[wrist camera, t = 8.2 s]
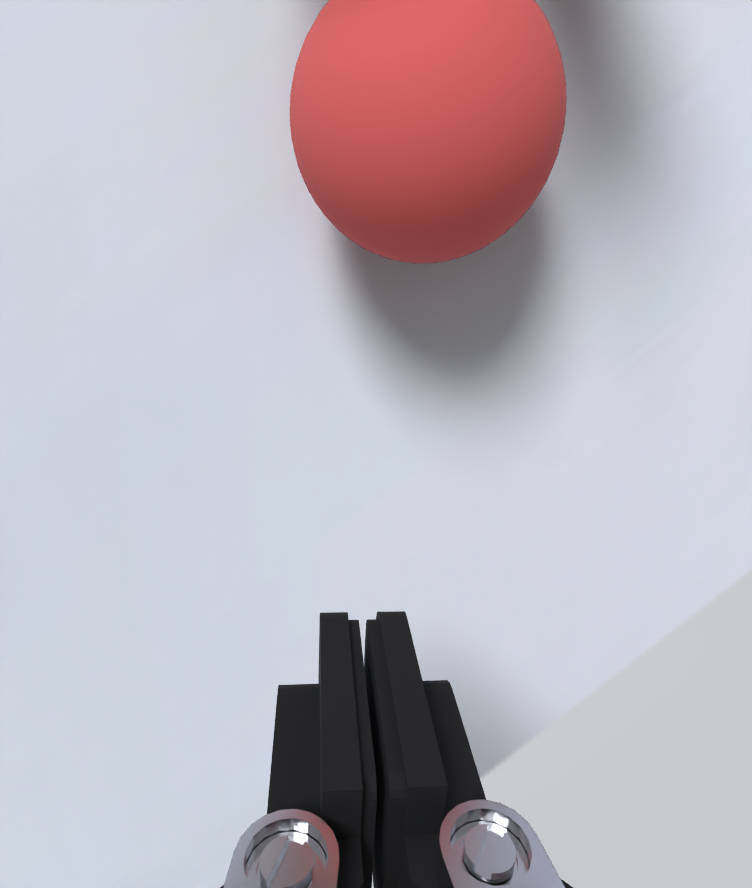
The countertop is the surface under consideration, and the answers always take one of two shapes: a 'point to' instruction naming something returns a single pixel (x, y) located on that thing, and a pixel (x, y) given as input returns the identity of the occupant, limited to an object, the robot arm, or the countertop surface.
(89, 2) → the countertop surface
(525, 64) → the ball
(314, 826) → the robot arm
